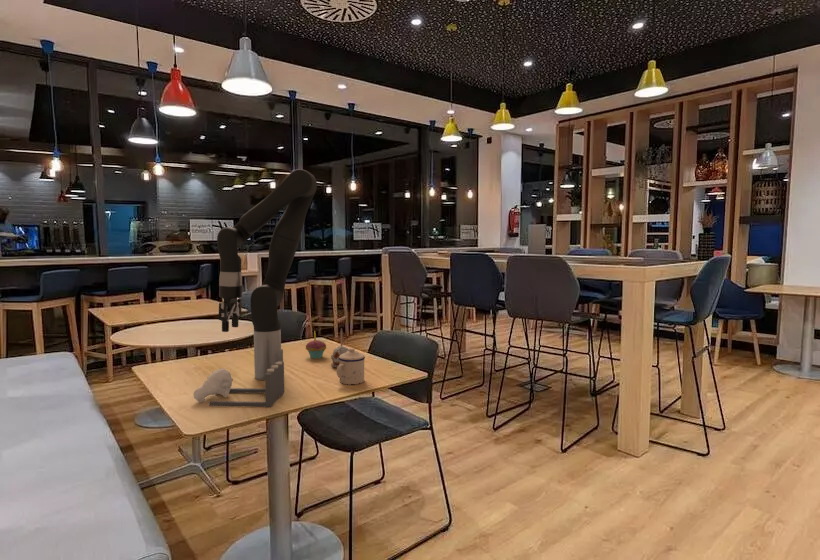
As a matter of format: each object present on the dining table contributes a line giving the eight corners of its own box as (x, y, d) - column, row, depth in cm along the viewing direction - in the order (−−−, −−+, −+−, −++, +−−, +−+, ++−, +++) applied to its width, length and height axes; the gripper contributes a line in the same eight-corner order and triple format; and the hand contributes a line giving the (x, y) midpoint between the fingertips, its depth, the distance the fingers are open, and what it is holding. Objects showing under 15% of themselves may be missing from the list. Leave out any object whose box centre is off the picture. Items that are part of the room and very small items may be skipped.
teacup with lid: (350, 375, 168) (350, 344, 167) (370, 380, 163) (370, 347, 162) (327, 384, 158) (327, 351, 157) (347, 389, 153) (347, 354, 152)
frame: (285, 391, 150) (284, 359, 149) (271, 407, 136) (270, 372, 135) (227, 391, 151) (227, 359, 150) (208, 406, 137) (207, 371, 136)
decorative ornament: (328, 365, 182) (328, 327, 181) (346, 362, 186) (346, 326, 185) (336, 370, 176) (335, 331, 174) (354, 367, 179) (354, 329, 178)
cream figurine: (233, 368, 146) (198, 381, 136) (236, 393, 147) (202, 408, 137) (221, 365, 149) (186, 377, 139) (224, 390, 151) (189, 404, 141)
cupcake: (324, 360, 190) (323, 331, 189) (303, 359, 190) (303, 331, 189) (328, 354, 198) (327, 327, 197) (308, 354, 198) (307, 327, 197)
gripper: (233, 286, 156) (232, 334, 158) (248, 282, 170) (248, 326, 172) (211, 285, 156) (211, 333, 158) (228, 281, 171) (228, 325, 172)
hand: (230, 329), depth 165 cm, fingers open, 8 cm apart
